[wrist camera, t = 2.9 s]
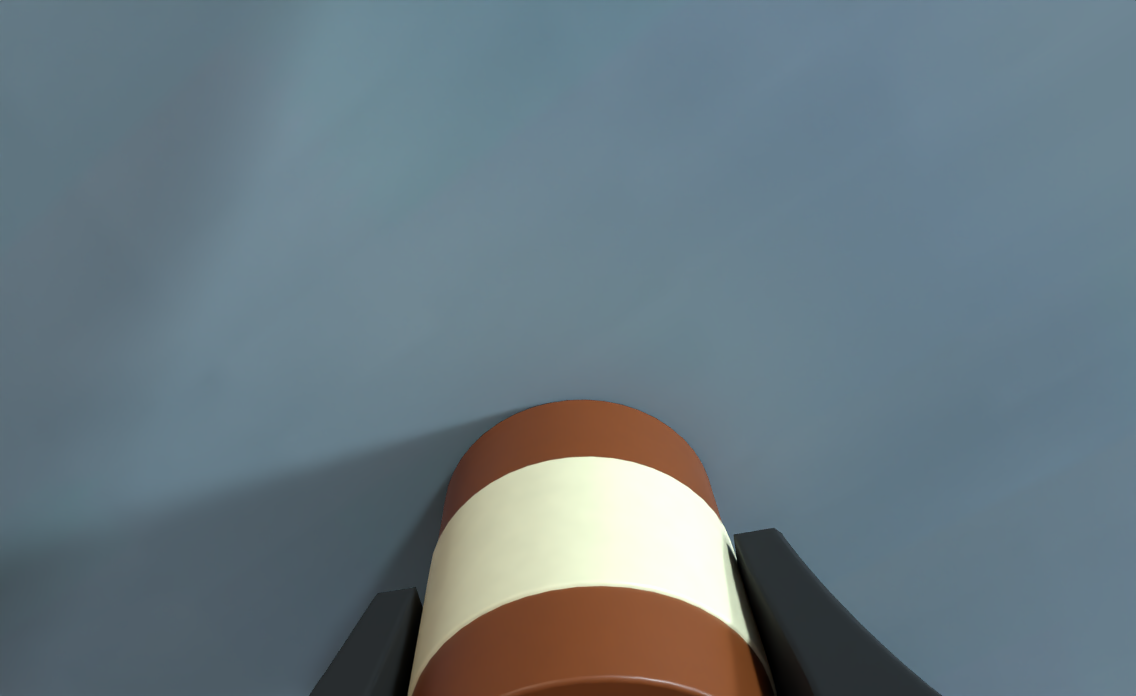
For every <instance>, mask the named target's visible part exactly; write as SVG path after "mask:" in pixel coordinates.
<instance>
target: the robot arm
mask: <svg viewBox="0 0 1136 696" xmlns="http://www.w3.org/2000/svg"><path fill="white" fill-rule="evenodd" d="M734 541H735V549H736V557H737V564H738V567H739V570H740V574H741V577H742V580H743V583H744V586H745V590H746V593H747V596H748V599H749V603H750V606H751V609H752V612H753V615H754V618H755V621H756V624H757V627H758V630H759V633H760V637H761V640H762V643H763V646H764V650H765V653H766V656H767V659H768V662H769V666H770V669H771V672H772V676H773V680H774V683H775V687H776V691H777V696H942V695H940V694H939V693H938V692H937V691H935V690H934V689H933V688H931V687H930V686H929V685H928V684H927V683H925V682H924V681H923V680H922V679H921V678H919V677H918V676H917V675H916V674H915V673H914V672H912V671H911V670H910V669H909V668H908V667H907V666H905V665H904V664H903V663H902V662H901V661H900V660H899V659H898V658H896V657H895V656H894V655H893V654H892V653H891V652H890V651H889V650H888V649H887V648H885V647H884V646H883V645H882V644H881V643H880V642H879V641H878V640H877V639H876V638H875V637H874V636H873V635H872V634H871V633H870V632H869V631H867V630H866V629H865V628H864V627H863V626H862V625H861V624H860V623H859V622H858V621H857V620H856V619H855V618H854V616H853V615H852V614H851V613H850V612H849V611H848V610H847V609H846V608H845V607H844V606H843V605H842V604H841V603H840V602H839V601H838V600H837V599H836V598H835V597H834V596H833V595H832V594H831V593H830V592H829V590H828V589H827V588H826V587H825V586H824V585H823V584H822V583H821V582H820V580H819V579H818V578H817V577H816V576H815V575H814V574H813V572H812V571H811V570H810V569H809V568H808V567H807V565H806V564H805V563H804V562H803V561H802V559H801V558H800V557H799V556H798V554H797V553H796V552H795V551H794V549H793V548H792V547H791V545H790V544H789V543H788V541H787V540H786V539H785V537H784V536H783V534H782V533H781V532H779V531H778V530H776V529H775V528H771V529H765V530H759V531H753V532H747V533H741V534H735V535H734ZM422 610H423V607H422V604H421V601H420V598H419V595H418V592H417V589H416V587H414V588H408V589H401V590H395V591H389V592H383V593H378V594H377V595H376V596H375V598H374V599H373V601H372V602H371V604H370V605H369V606H368V608H367V609H366V611H365V612H364V614H363V616H362V617H361V619H360V620H359V622H358V623H357V625H356V626H355V628H354V629H353V631H352V632H351V634H350V636H349V637H348V639H347V640H346V642H345V643H344V645H343V646H342V648H341V649H340V651H339V652H338V654H337V655H336V657H335V658H334V660H333V661H332V663H331V664H330V666H329V667H328V669H327V670H326V672H325V673H324V675H323V676H322V677H321V679H320V680H319V682H318V683H317V685H316V686H315V688H314V689H313V690H312V692H311V693H310V695H309V696H407V695H408V689H409V683H410V678H411V672H412V667H413V661H414V655H415V650H416V644H417V639H418V633H419V627H420V622H421V616H422Z"/></svg>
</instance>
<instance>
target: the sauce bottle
mask: <svg viewBox="0 0 1136 696" xmlns="http://www.w3.org/2000/svg"><path fill="white" fill-rule="evenodd" d="M407 696H777V691H776V687H775V683H774V680H773V676H772V672H771V669H770V666H769V662H768V659H767V656H766V653H765V650H764V646H763V643H762V640H761V637H760V633H759V630H758V627H757V624H756V621H755V618H754V615H753V612H752V609H751V606H750V603H749V599H748V596H747V593H746V590H745V586H744V583H743V580H742V577H741V574H740V570H739V567H738V564H737V559H736V556H735V553H734V550H733V546H732V543H731V541H730V538H729V536H728V534H727V532H726V530H725V527H724V526H723V524H722V522H721V518H720V515H719V512H718V508H717V505H716V502H715V499H714V495H713V492H712V489H711V485H710V482H709V479H708V476H707V474H706V472H705V469H704V467H703V465H702V463H701V461H700V460H699V458H698V457H697V455H696V454H695V452H694V450H693V449H692V448H691V447H690V446H689V445H688V444H687V442H686V441H685V440H684V439H683V438H682V437H681V436H679V435H678V434H677V433H676V432H675V431H674V430H672V429H671V428H670V427H668V426H667V425H665V424H664V423H662V422H661V421H659V420H658V419H656V418H654V417H652V416H650V415H648V414H646V413H644V412H641V411H639V410H636V409H633V408H630V407H627V406H624V405H620V404H615V403H610V402H605V401H595V400H566V401H560V402H553V403H547V404H544V405H540V406H536V407H533V408H530V409H527V410H525V411H522V412H520V413H517V414H515V415H513V416H511V417H509V418H507V419H505V420H504V421H502V422H500V423H498V424H497V425H496V426H494V427H493V428H491V429H490V430H489V431H487V432H486V433H485V434H483V435H482V436H481V437H480V438H479V439H478V440H477V441H476V442H475V443H474V444H473V445H472V446H471V447H470V448H469V450H468V451H467V452H466V453H465V455H464V456H463V457H462V459H461V460H460V462H459V464H458V465H457V467H456V469H455V471H454V473H453V475H452V478H451V480H450V483H449V485H448V489H447V494H446V498H445V503H444V509H443V515H442V521H441V527H440V532H439V538H438V543H437V545H436V548H435V550H434V553H433V557H432V562H431V566H430V571H429V577H428V582H427V588H426V594H425V599H424V605H423V610H422V616H421V622H420V627H419V633H418V639H417V644H416V650H415V655H414V661H413V667H412V672H411V678H410V683H409V689H408V695H407Z"/></svg>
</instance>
